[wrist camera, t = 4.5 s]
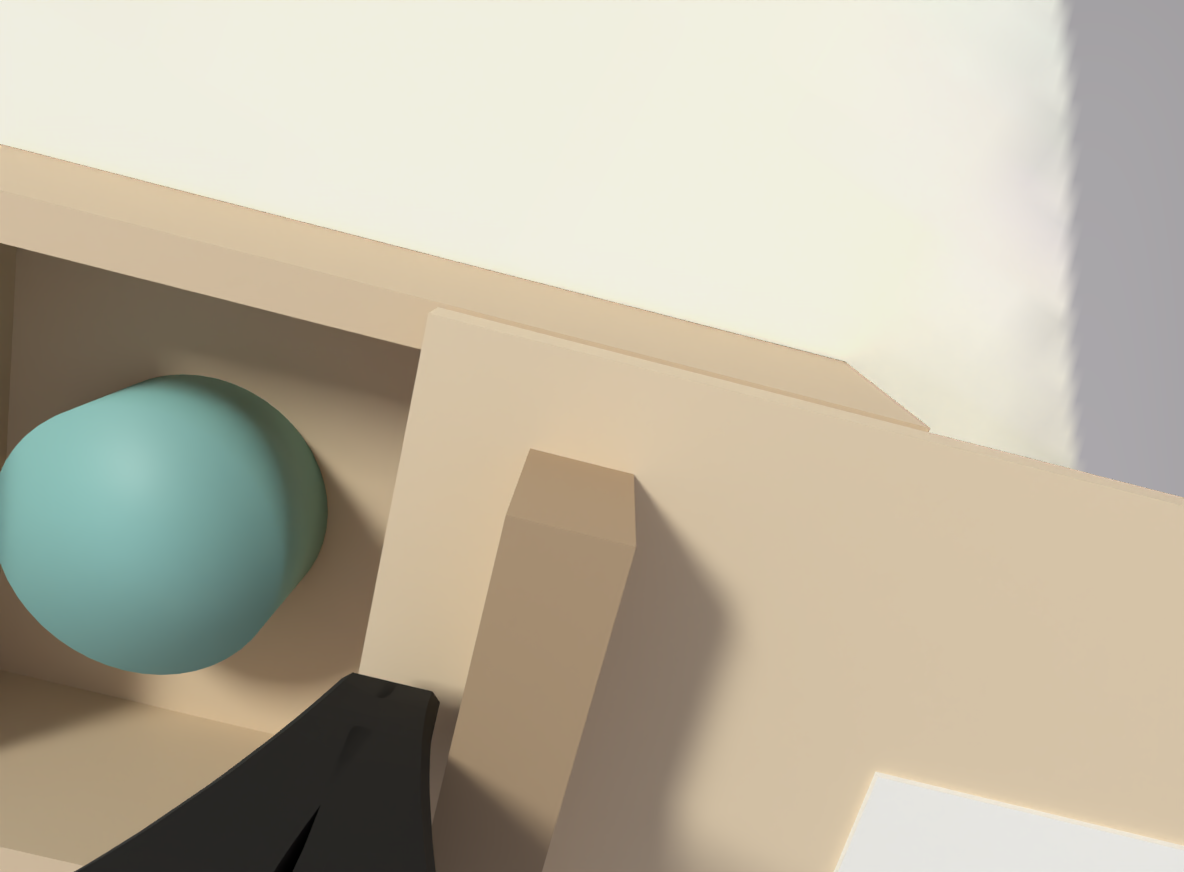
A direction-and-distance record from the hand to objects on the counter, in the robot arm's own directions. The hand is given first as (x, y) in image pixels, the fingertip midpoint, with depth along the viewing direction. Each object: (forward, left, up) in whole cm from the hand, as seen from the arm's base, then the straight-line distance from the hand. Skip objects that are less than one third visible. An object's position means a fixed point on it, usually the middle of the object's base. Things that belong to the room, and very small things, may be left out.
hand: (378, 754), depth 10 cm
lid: (0, -6, -1) cm, 7 cm away
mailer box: (0, +2, -6) cm, 6 cm away
